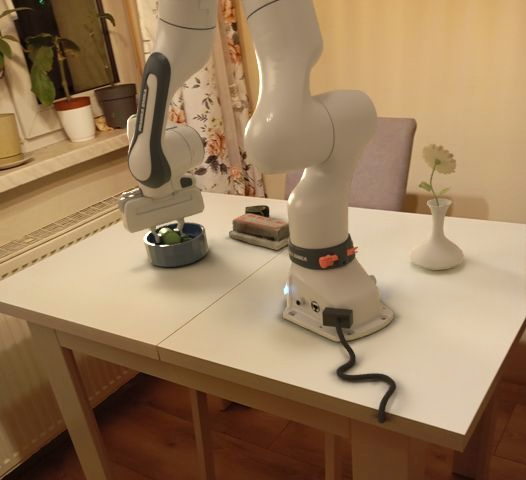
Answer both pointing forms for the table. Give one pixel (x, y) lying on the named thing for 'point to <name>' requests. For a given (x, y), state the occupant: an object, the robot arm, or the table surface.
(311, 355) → the table surface
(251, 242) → the packaged product
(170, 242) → the pale zucchini
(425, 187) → the flower in vase
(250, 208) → the tape measure
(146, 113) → the robot arm
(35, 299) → the table surface
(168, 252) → the bowl
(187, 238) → the zucchini
